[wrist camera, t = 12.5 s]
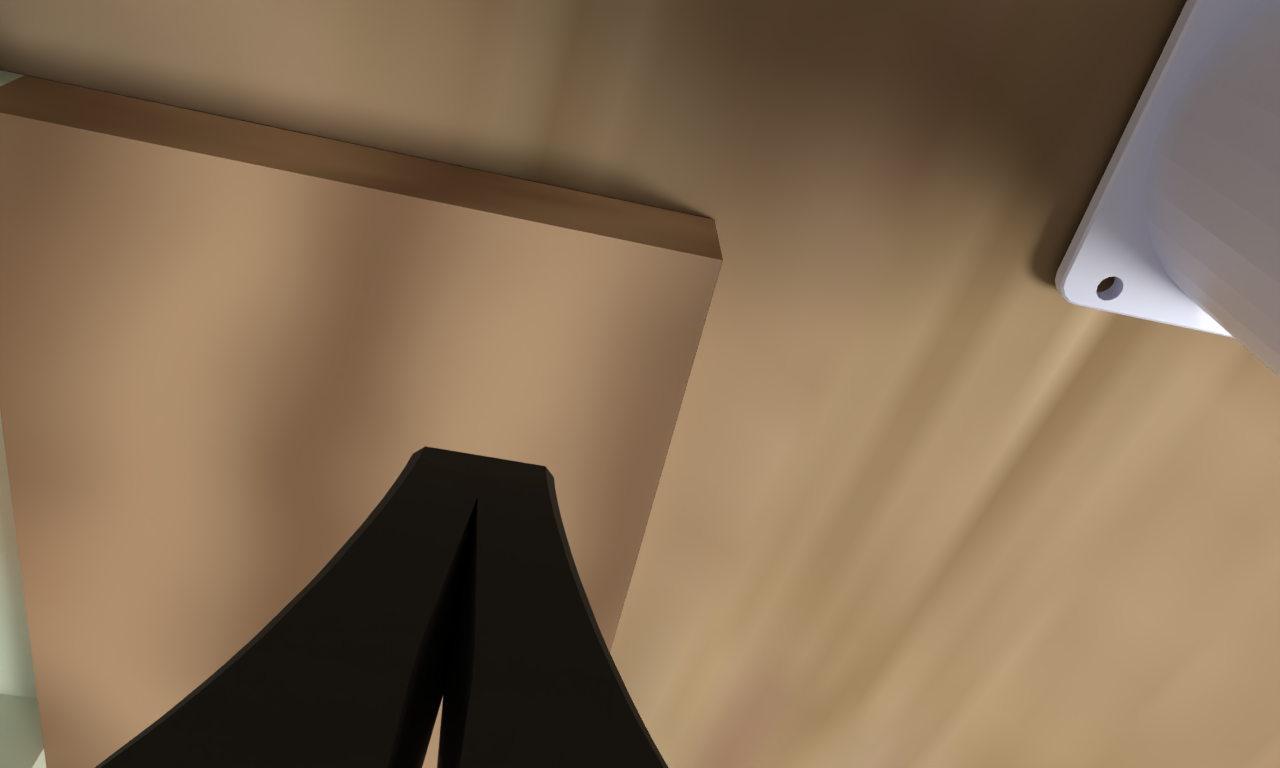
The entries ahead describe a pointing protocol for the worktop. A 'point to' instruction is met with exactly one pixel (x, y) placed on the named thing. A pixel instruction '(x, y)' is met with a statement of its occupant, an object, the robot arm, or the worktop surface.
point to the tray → (15, 635)
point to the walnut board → (295, 374)
